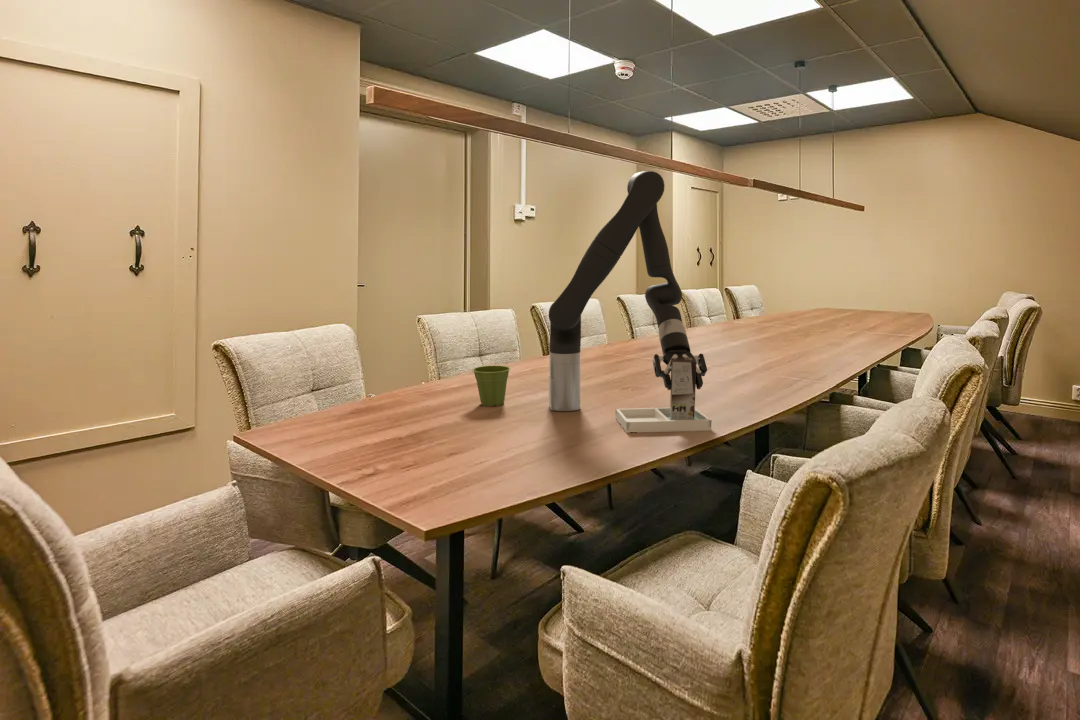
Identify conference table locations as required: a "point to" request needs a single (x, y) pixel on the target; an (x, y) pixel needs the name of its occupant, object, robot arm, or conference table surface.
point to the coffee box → (683, 388)
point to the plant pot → (491, 384)
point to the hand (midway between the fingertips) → (684, 388)
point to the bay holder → (659, 420)
